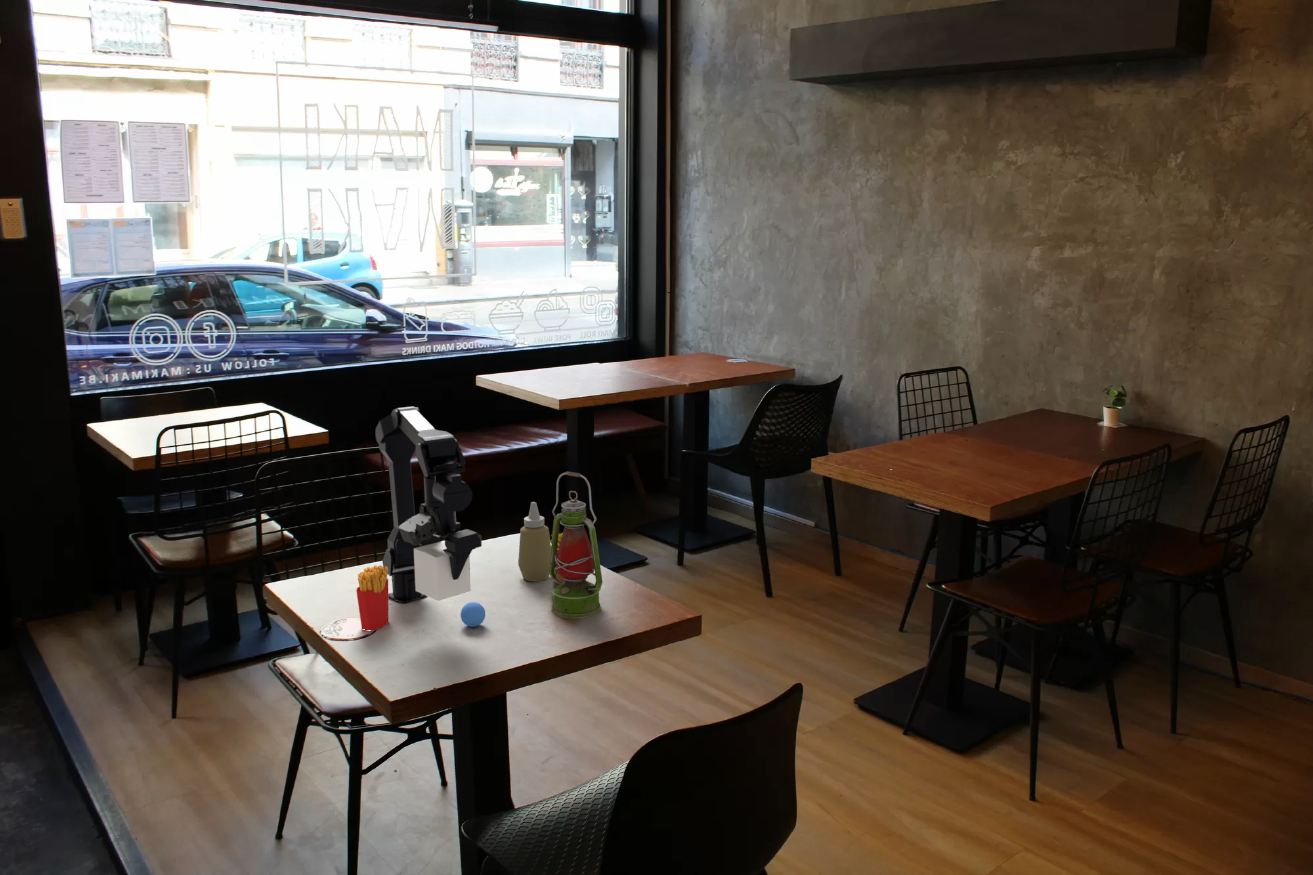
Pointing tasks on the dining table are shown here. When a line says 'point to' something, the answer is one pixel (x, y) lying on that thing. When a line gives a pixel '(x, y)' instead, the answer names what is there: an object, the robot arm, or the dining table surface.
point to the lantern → (574, 560)
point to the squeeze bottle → (534, 547)
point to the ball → (472, 614)
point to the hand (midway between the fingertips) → (443, 574)
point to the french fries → (373, 597)
